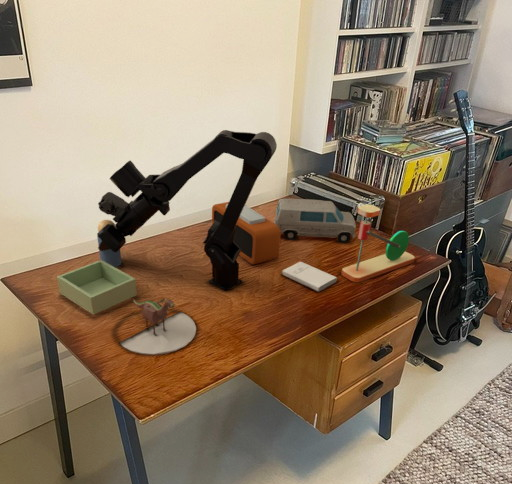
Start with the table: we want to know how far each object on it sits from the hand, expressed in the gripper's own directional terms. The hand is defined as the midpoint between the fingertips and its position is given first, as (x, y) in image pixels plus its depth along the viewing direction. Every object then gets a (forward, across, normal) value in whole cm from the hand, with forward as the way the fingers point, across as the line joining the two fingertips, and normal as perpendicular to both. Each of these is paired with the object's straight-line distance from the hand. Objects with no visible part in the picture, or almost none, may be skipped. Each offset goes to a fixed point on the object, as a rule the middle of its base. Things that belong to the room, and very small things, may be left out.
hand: (104, 244), depth 138 cm
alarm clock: (-19, -22, +28) cm, 40 cm away
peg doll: (+3, 0, +5) cm, 6 cm away
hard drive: (-34, -9, +42) cm, 55 cm away
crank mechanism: (-47, -21, +56) cm, 76 cm away
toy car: (-32, -38, +41) cm, 64 cm away
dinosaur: (-12, +26, +21) cm, 35 cm away
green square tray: (+1, +16, +8) cm, 18 cm away
